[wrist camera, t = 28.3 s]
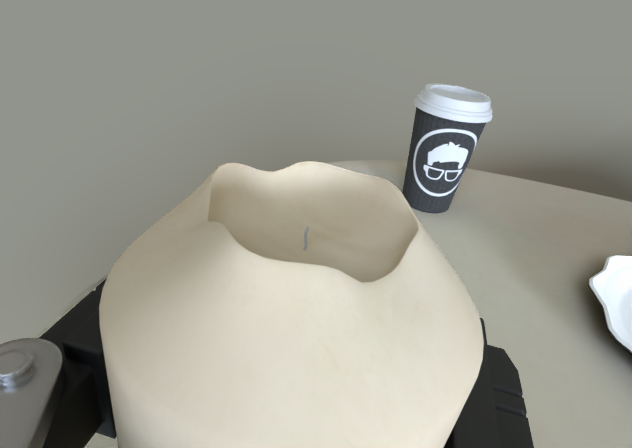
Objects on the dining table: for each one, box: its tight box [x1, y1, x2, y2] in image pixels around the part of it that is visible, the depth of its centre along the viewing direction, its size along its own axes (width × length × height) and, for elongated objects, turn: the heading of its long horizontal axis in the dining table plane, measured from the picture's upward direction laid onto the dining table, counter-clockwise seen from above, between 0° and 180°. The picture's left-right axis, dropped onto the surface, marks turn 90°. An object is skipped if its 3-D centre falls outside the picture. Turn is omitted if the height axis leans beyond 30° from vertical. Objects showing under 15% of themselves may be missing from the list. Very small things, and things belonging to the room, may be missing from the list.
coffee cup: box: [402, 84, 492, 213], centre depth 56 cm, size 10×10×15 cm
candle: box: [99, 161, 484, 448], centre depth 8 cm, size 6×6×10 cm
